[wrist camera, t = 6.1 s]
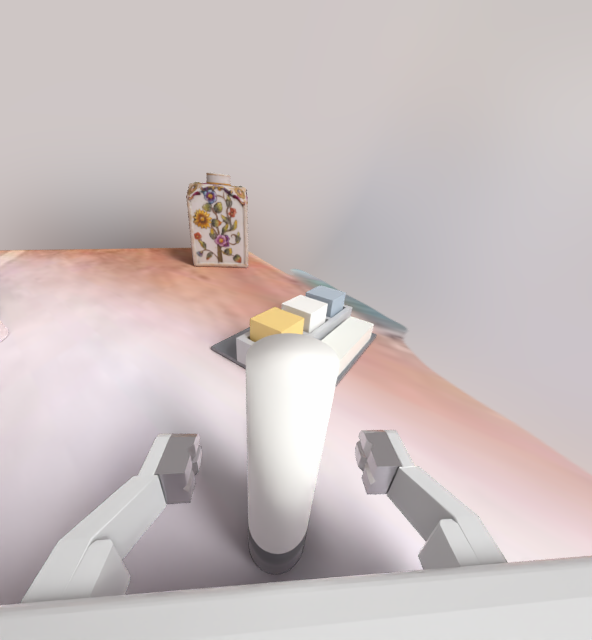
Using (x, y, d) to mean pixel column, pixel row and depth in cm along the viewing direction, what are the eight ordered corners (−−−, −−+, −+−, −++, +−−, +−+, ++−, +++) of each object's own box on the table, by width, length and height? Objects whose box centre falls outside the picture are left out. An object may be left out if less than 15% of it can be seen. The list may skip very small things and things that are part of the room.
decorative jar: (201, 254, 62) (193, 172, 54) (247, 256, 65) (247, 177, 57) (192, 267, 52) (181, 168, 44) (248, 268, 54) (247, 174, 46)
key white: (280, 328, 27) (281, 303, 26) (298, 317, 30) (300, 294, 29) (307, 339, 26) (310, 314, 24) (324, 327, 28) (327, 303, 27)
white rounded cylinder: (236, 543, 12) (224, 359, 7) (272, 493, 14) (283, 325, 9) (282, 592, 11) (308, 406, 6) (314, 528, 13) (353, 353, 8)
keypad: (211, 349, 26) (209, 324, 25) (292, 307, 37) (293, 289, 36) (317, 408, 20) (322, 380, 19) (375, 337, 31) (381, 316, 30)
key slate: (303, 314, 31) (305, 292, 30) (317, 306, 34) (320, 285, 32) (329, 323, 29) (332, 300, 28) (341, 314, 32) (345, 292, 31)
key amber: (250, 346, 24) (249, 318, 22) (273, 332, 26) (274, 307, 25) (279, 361, 22) (281, 332, 21) (301, 344, 25) (304, 317, 23)
